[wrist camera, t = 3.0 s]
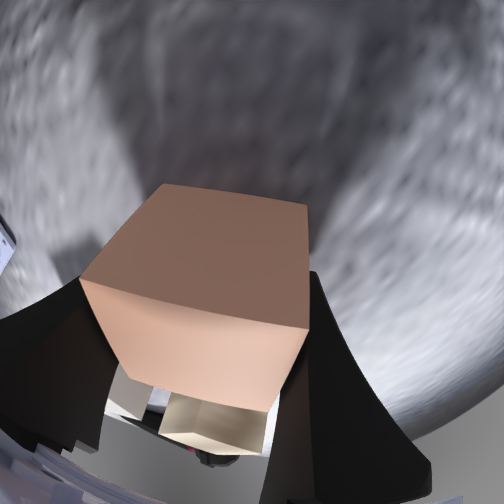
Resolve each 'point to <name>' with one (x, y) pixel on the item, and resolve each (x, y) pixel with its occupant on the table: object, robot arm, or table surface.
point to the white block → (128, 395)
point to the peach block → (206, 293)
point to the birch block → (213, 426)
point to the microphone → (152, 425)
